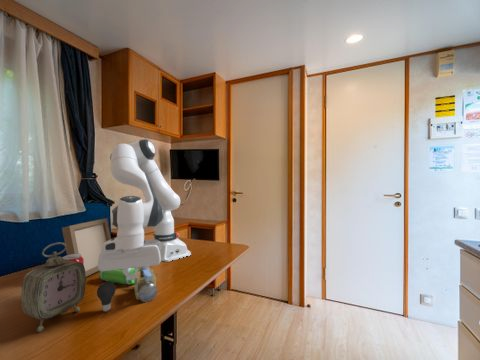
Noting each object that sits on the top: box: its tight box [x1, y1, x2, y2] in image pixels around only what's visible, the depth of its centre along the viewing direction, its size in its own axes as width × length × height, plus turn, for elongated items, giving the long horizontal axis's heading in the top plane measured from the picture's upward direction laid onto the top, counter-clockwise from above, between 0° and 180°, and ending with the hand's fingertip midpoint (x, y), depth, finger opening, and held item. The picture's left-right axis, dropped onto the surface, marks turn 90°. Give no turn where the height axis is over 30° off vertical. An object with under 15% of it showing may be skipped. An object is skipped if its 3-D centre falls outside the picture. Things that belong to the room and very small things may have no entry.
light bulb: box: [96, 281, 117, 312], centre depth 77 cm, size 6×6×10 cm
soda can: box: [61, 254, 84, 265], centre depth 90 cm, size 8×8×15 cm
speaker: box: [98, 268, 140, 285], centre depth 100 cm, size 18×7×8 cm, turn 73°
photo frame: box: [61, 217, 112, 278], centre depth 112 cm, size 15×22×25 cm
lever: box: [139, 266, 152, 281], centre depth 86 cm, size 11×4×2 cm, turn 32°
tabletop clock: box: [20, 241, 87, 333], centre depth 73 cm, size 14×9×25 cm, turn 160°
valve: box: [133, 268, 158, 303], centre depth 89 cm, size 7×14×8 cm, turn 32°
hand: (131, 279), depth 80 cm, fingers closed
